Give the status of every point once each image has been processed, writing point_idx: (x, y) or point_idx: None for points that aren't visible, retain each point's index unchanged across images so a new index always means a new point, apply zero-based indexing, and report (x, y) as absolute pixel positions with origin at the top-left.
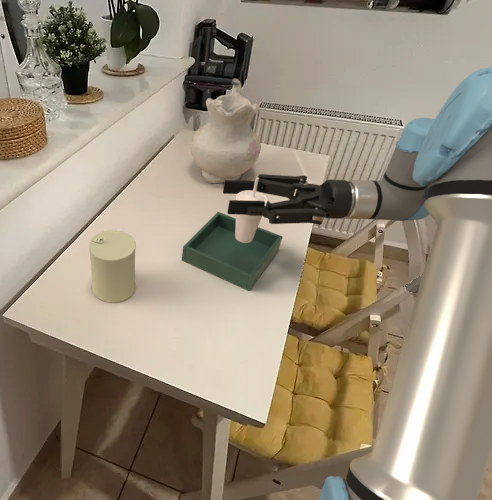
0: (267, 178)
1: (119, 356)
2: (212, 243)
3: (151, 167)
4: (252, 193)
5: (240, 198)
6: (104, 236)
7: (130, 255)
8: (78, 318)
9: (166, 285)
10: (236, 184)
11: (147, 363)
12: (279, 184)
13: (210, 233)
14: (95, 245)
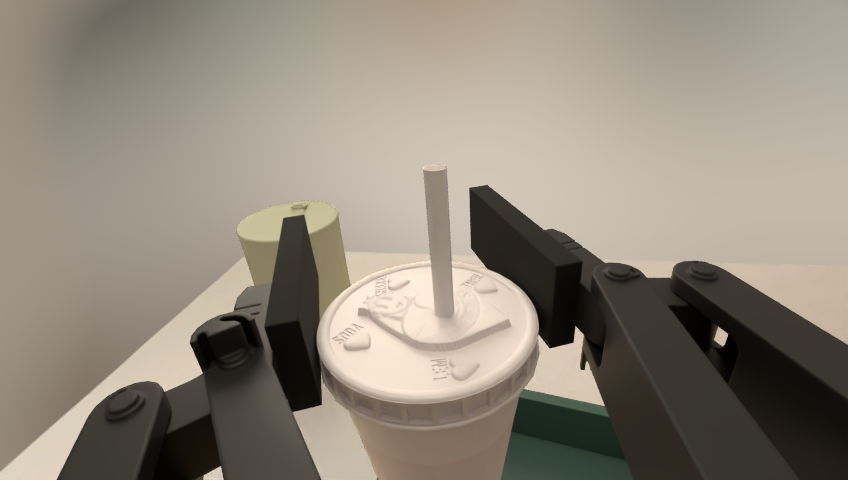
0: (715, 314)
1: (119, 373)
2: (547, 472)
3: (777, 264)
4: (481, 302)
5: (413, 276)
6: (316, 208)
7: (253, 243)
8: (234, 302)
9: (323, 398)
10: (491, 221)
11: (75, 421)
12: (684, 401)
13: (601, 455)
14: (287, 208)
